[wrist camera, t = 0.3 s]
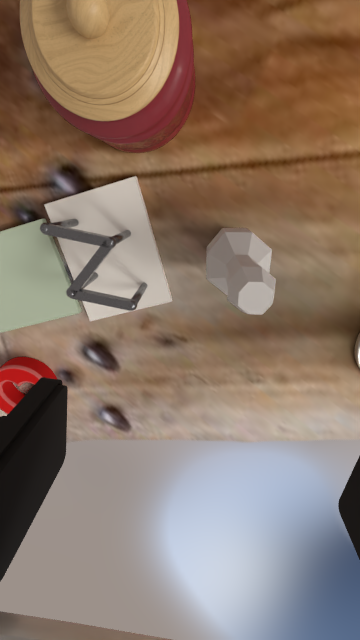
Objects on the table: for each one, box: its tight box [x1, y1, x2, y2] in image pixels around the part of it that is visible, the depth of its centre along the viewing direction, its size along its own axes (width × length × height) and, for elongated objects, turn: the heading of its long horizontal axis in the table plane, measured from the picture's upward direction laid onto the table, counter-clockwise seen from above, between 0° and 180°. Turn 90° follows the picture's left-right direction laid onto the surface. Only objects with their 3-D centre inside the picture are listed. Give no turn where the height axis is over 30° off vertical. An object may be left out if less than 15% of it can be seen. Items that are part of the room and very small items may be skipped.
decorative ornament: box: [0, 357, 57, 414], centre depth 50 cm, size 10×10×3 cm
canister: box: [20, 0, 195, 153], centre depth 27 cm, size 13×13×18 cm
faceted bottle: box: [206, 228, 276, 315], centre depth 31 cm, size 6×6×22 cm
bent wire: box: [40, 219, 148, 311], centre depth 38 cm, size 7×11×9 cm, turn 15°
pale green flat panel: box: [0, 219, 82, 333], centre depth 44 cm, size 13×13×1 cm
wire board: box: [44, 176, 173, 321], centre depth 42 cm, size 12×16×1 cm
